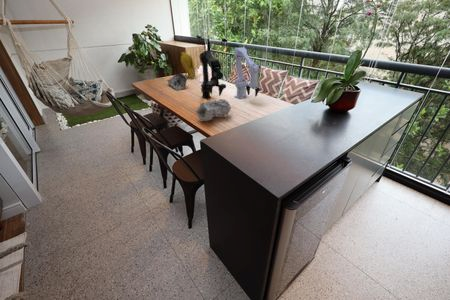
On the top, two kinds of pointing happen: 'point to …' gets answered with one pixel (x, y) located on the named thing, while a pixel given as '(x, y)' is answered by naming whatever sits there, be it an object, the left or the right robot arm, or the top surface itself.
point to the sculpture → (188, 64)
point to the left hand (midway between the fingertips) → (215, 95)
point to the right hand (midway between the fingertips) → (252, 95)
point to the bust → (213, 110)
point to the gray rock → (177, 81)
